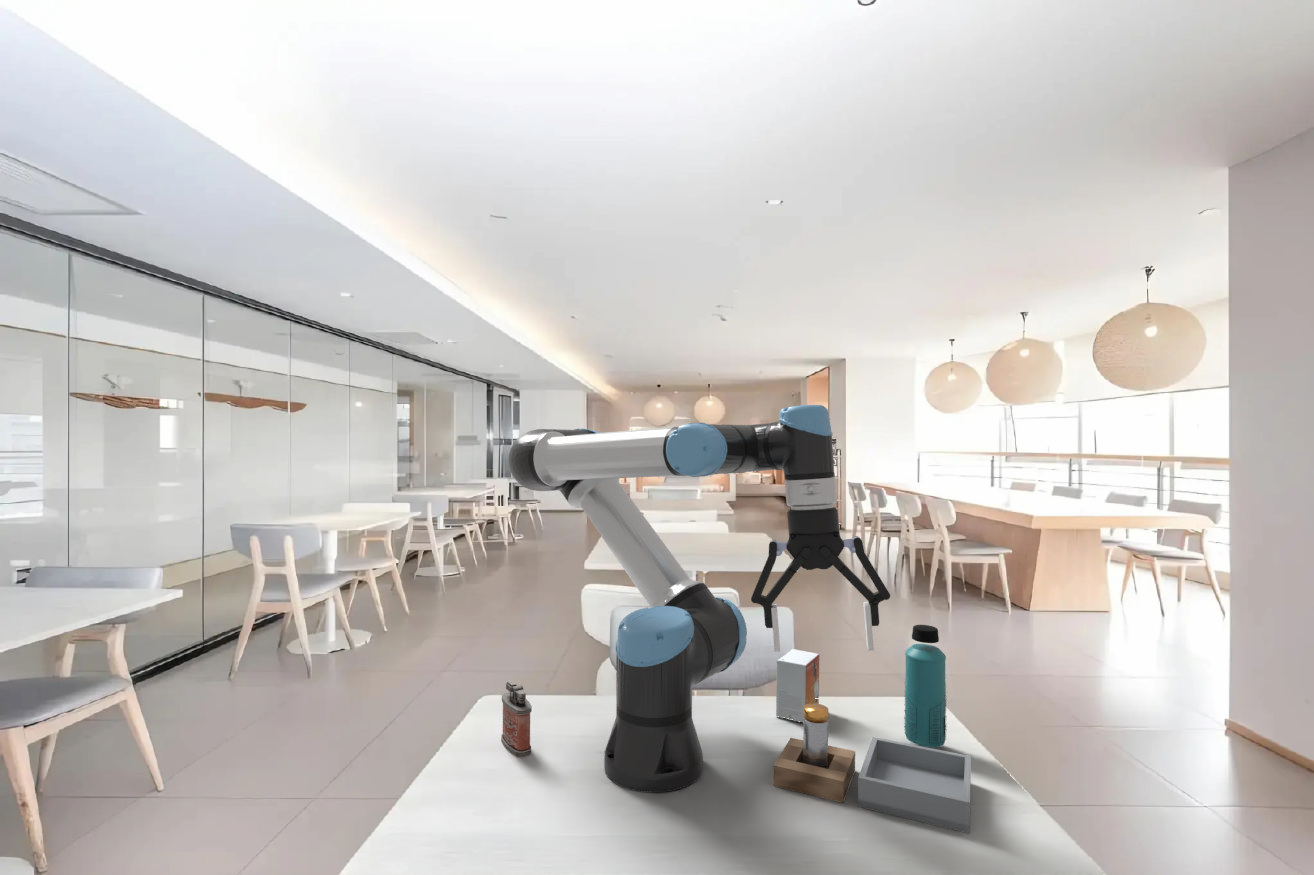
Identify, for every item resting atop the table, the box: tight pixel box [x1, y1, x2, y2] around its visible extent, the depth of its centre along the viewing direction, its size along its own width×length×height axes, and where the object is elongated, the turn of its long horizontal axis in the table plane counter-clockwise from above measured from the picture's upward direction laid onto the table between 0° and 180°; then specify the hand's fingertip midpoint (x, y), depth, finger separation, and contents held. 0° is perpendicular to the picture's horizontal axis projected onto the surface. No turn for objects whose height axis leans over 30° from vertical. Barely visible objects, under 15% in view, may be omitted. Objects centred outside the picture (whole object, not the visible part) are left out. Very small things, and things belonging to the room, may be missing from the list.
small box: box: [775, 648, 820, 723], centre depth 124 cm, size 8×6×10 cm
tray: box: [857, 736, 972, 834], centre depth 96 cm, size 14×14×4 cm
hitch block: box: [772, 737, 856, 803], centre depth 101 cm, size 10×10×3 cm
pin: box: [802, 703, 829, 769], centre depth 100 cm, size 4×4×10 cm
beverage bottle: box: [903, 624, 948, 748], centre depth 111 cm, size 6×7×20 cm
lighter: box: [500, 679, 533, 758], centre depth 110 cm, size 8×3×10 cm, turn 34°
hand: (823, 648), depth 101 cm, fingers open, 13 cm apart
